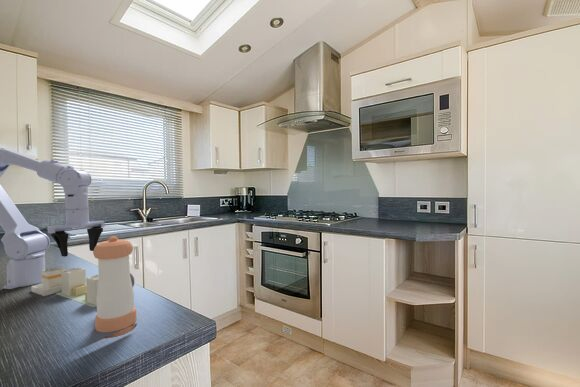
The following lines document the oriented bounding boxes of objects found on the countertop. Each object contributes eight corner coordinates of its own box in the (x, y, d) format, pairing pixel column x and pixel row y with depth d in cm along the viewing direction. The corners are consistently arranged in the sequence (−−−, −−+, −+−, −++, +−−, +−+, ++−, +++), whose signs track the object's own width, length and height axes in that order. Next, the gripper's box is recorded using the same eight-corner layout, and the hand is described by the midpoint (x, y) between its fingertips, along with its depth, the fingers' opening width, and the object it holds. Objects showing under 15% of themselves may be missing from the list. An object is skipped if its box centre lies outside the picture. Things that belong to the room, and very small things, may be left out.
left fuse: (61, 293, 78) (60, 271, 78) (78, 288, 81) (77, 267, 81) (69, 295, 76) (68, 272, 76) (86, 290, 79) (85, 268, 79)
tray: (31, 295, 80) (31, 286, 80) (63, 287, 86) (63, 278, 86) (43, 300, 76) (43, 290, 76) (76, 291, 83) (75, 282, 83)
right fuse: (87, 301, 72) (86, 277, 71) (104, 296, 75) (103, 273, 75) (95, 304, 70) (94, 280, 69) (112, 298, 73) (112, 275, 73)
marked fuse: (42, 291, 80) (41, 270, 80) (59, 287, 84) (58, 266, 84) (49, 294, 78) (47, 272, 78) (66, 289, 82) (65, 268, 82)
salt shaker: (91, 341, 55) (87, 241, 54) (99, 325, 62) (95, 235, 61) (135, 333, 58) (131, 237, 57) (138, 318, 65) (134, 232, 64)
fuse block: (55, 298, 78) (55, 286, 78) (80, 290, 83) (80, 279, 83) (94, 312, 68) (93, 298, 68) (119, 303, 73) (119, 290, 73)
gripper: (54, 211, 80) (57, 260, 81) (109, 207, 93) (110, 249, 93) (43, 210, 84) (45, 257, 84) (97, 207, 96) (98, 247, 97)
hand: (79, 253), depth 89 cm, fingers open, 7 cm apart
